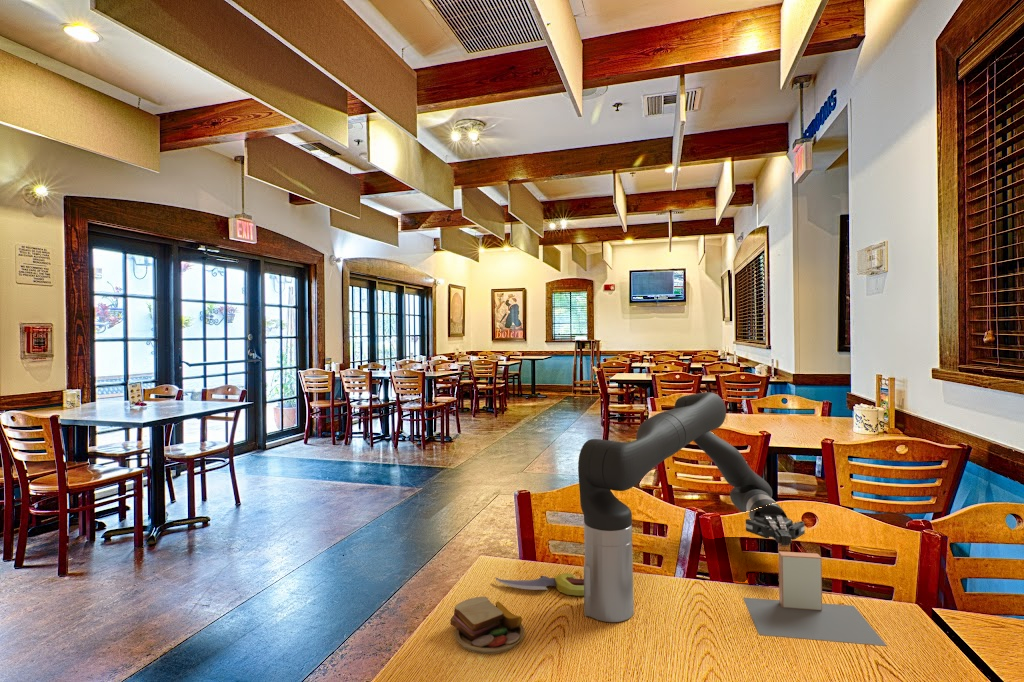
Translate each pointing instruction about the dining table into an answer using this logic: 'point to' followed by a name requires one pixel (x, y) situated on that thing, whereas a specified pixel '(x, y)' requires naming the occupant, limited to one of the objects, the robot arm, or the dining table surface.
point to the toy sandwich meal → (486, 626)
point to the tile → (800, 580)
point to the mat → (812, 622)
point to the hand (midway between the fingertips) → (785, 541)
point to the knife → (562, 582)
